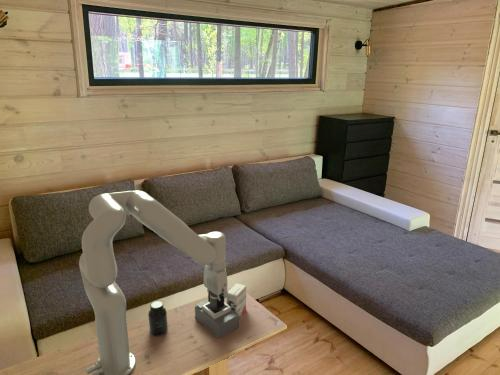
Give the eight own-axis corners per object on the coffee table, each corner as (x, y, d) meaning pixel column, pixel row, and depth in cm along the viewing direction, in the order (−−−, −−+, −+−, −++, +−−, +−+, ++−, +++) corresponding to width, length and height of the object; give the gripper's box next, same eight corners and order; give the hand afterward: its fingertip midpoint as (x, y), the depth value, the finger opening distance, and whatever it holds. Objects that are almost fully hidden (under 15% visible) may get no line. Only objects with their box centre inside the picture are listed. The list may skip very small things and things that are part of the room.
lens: (215, 314, 145) (214, 296, 142) (207, 307, 148) (207, 290, 146) (225, 308, 148) (225, 291, 146) (217, 302, 152) (217, 285, 149)
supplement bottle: (170, 325, 148) (168, 299, 145) (164, 337, 142) (162, 310, 138) (153, 323, 149) (151, 298, 145) (147, 335, 143) (144, 309, 139)
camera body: (238, 327, 148) (239, 310, 146) (218, 338, 142) (218, 321, 139) (214, 307, 159) (214, 292, 157) (195, 317, 153) (194, 301, 150)
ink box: (236, 305, 161) (236, 282, 157) (246, 309, 159) (246, 285, 155) (226, 316, 154) (226, 292, 150) (236, 320, 152) (236, 295, 148)
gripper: (195, 258, 145) (196, 297, 151) (221, 276, 133) (221, 318, 139) (210, 252, 150) (211, 290, 156) (237, 269, 138) (237, 310, 144)
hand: (216, 303), depth 147 cm, fingers closed on lens, 5 cm apart
